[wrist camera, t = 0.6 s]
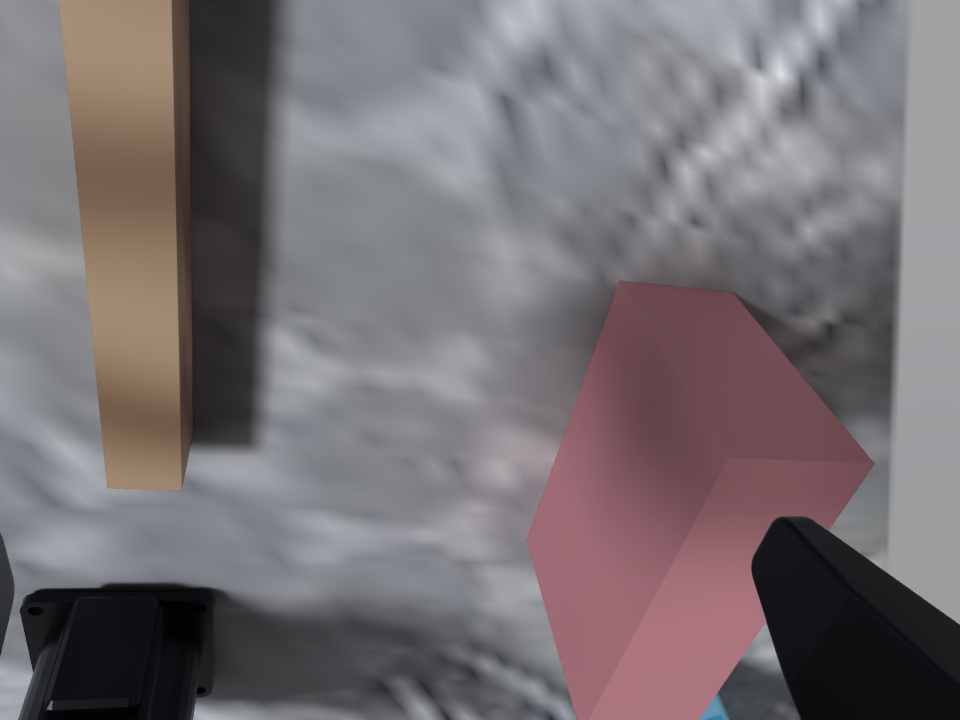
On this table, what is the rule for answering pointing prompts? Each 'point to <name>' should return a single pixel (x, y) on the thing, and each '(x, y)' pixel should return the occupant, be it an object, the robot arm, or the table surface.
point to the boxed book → (677, 499)
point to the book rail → (136, 226)
